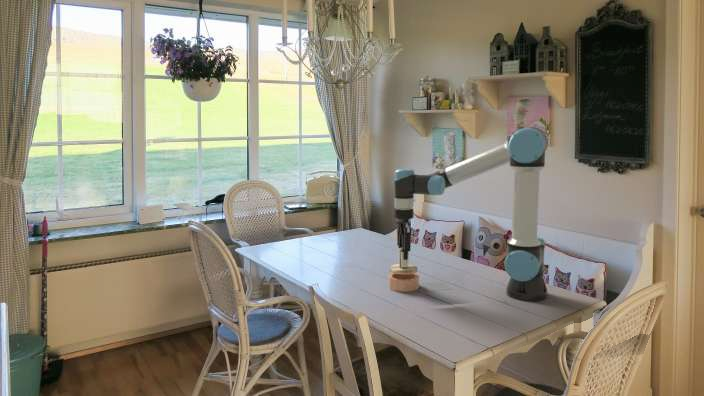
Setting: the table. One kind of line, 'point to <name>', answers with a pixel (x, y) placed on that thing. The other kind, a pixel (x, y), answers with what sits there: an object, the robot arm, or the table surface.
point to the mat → (436, 286)
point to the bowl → (403, 282)
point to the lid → (406, 270)
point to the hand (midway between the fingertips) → (403, 265)
